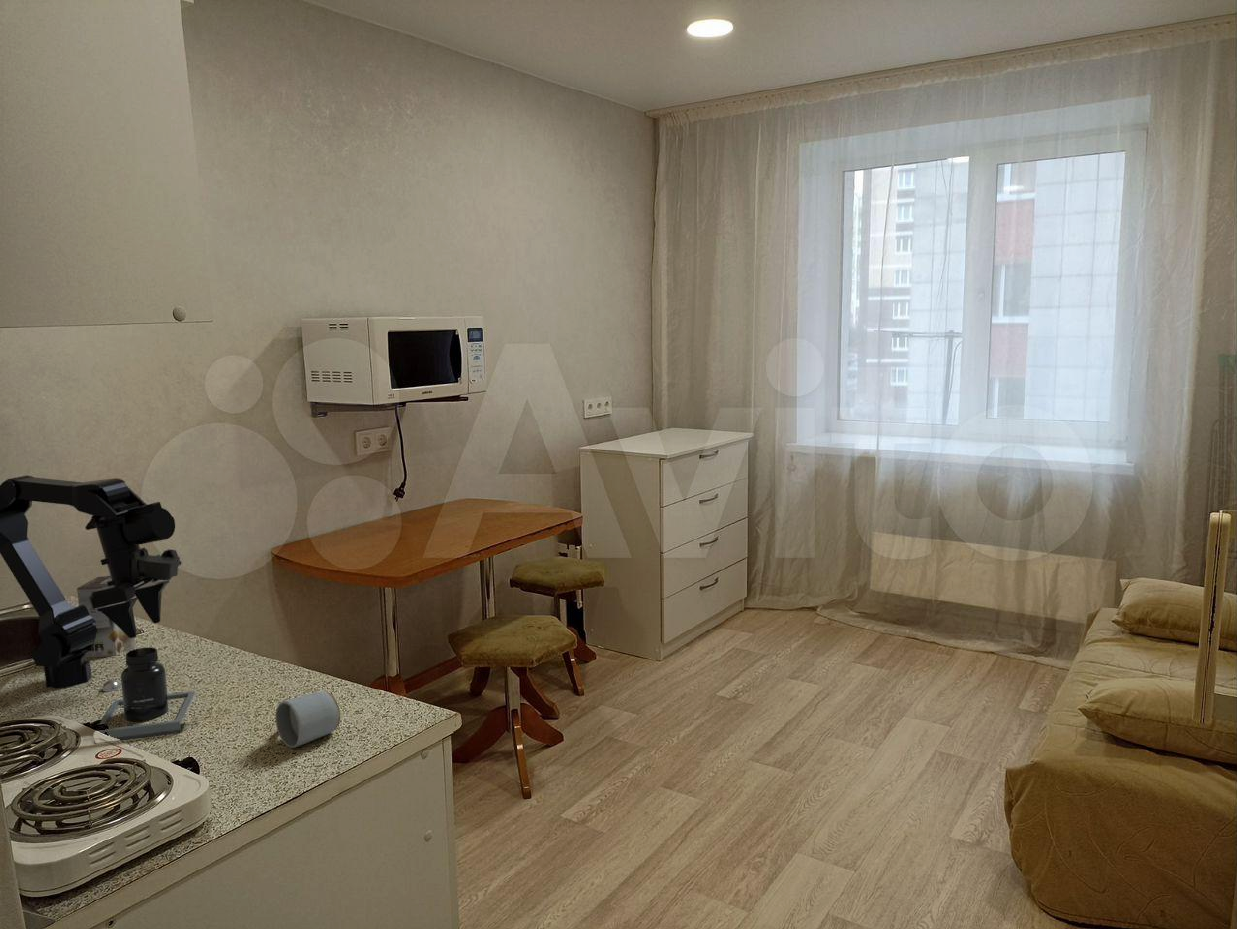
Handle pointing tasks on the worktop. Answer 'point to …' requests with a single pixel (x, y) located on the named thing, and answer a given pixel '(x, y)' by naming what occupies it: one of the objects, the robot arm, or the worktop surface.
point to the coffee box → (103, 624)
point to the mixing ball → (111, 686)
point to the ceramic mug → (307, 718)
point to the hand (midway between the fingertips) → (145, 629)
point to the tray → (152, 728)
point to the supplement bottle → (144, 686)
